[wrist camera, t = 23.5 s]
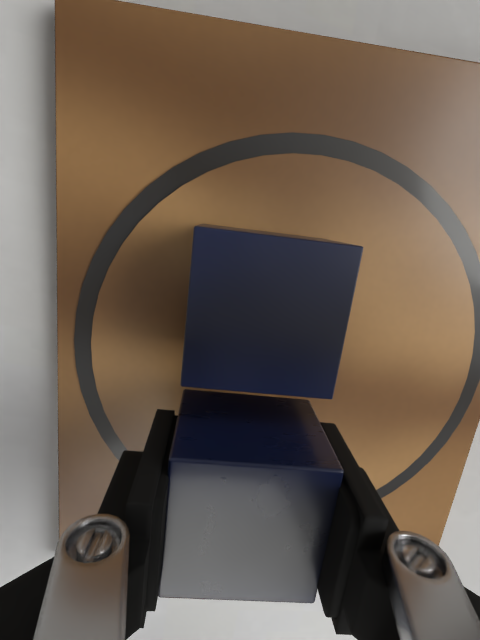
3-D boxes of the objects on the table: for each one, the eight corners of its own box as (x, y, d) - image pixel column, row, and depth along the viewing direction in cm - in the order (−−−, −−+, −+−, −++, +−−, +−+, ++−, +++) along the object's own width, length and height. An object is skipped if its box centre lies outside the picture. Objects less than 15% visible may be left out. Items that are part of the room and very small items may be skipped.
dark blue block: (183, 387, 11) (168, 458, 8) (309, 398, 12) (345, 470, 8) (173, 495, 12) (156, 598, 9) (289, 503, 13) (315, 604, 9)
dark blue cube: (201, 223, 12) (193, 225, 8) (323, 238, 12) (364, 246, 9) (190, 342, 13) (180, 387, 9) (303, 353, 13) (333, 400, 10)
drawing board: (65, 5, 11) (50, -16, 10) (566, 89, 12) (596, 78, 11) (66, 549, 16) (56, 571, 15) (417, 566, 17) (429, 587, 16)
